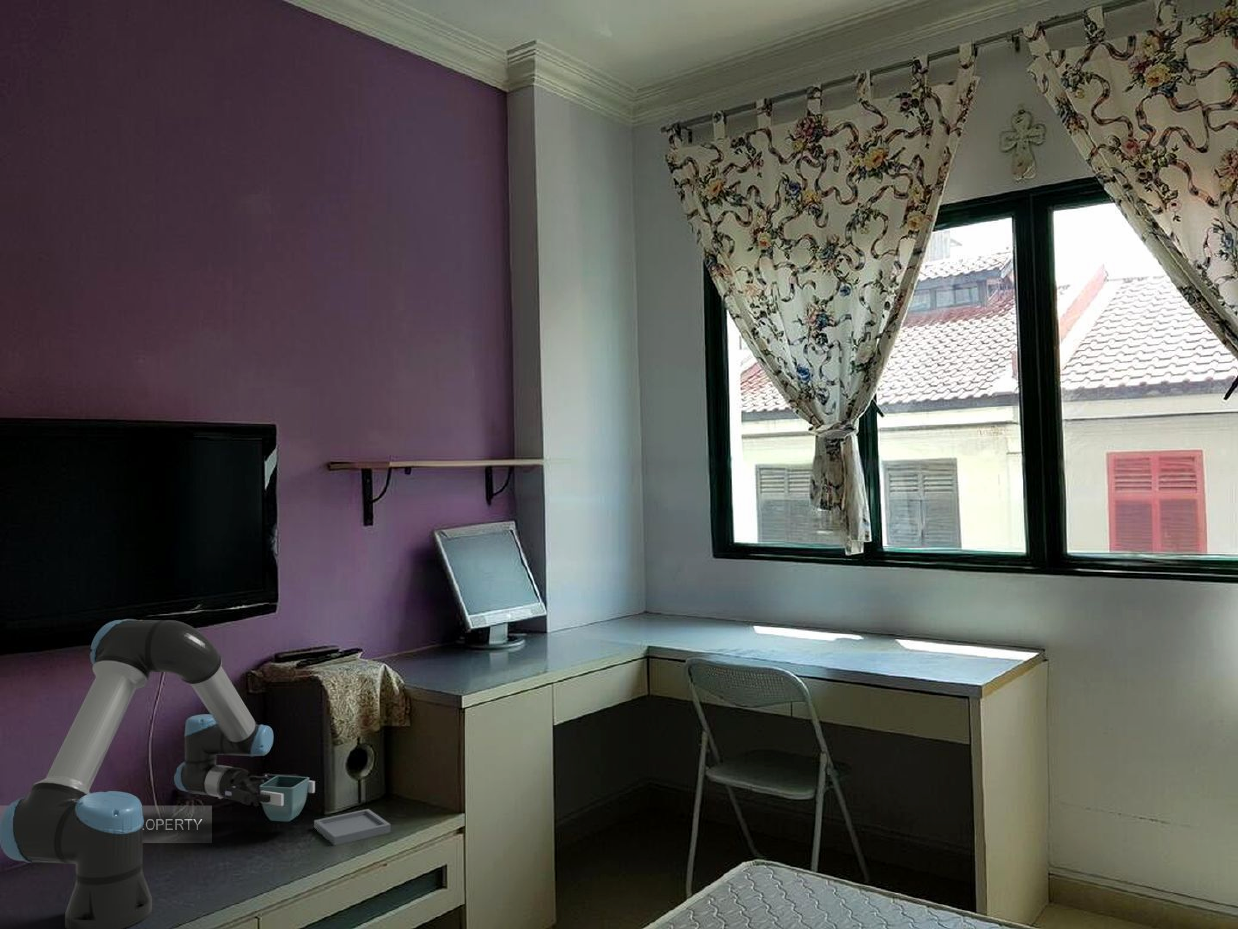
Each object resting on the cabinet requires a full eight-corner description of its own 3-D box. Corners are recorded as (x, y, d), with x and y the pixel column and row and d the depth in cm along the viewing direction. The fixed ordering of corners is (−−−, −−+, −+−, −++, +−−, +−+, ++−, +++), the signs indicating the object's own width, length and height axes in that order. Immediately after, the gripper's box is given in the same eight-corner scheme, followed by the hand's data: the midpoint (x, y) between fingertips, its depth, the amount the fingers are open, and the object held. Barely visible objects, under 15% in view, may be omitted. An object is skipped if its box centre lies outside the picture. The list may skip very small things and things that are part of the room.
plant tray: (334, 845, 227) (334, 837, 227) (314, 828, 238) (314, 820, 239) (390, 832, 236) (390, 824, 236) (368, 816, 247) (368, 809, 247)
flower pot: (292, 825, 230) (292, 787, 230) (258, 823, 232) (258, 786, 232) (310, 813, 239) (310, 776, 239) (276, 811, 240) (277, 775, 241)
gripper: (262, 785, 253) (329, 795, 244) (192, 811, 232) (263, 823, 223) (262, 756, 253) (330, 765, 244) (193, 779, 232) (264, 791, 223)
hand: (298, 793), depth 234 cm, fingers closed on flower pot, 10 cm apart
